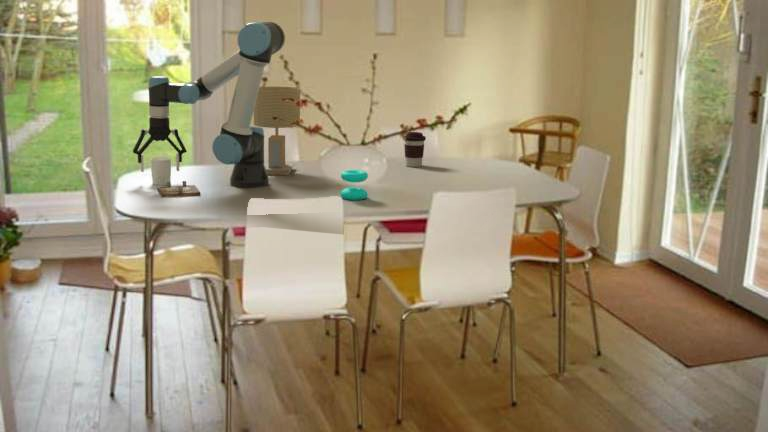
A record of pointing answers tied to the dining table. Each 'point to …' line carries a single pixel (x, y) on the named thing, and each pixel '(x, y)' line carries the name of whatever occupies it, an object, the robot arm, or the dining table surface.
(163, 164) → the white cup
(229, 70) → the robot arm
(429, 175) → the dining table surface
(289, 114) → the desk lamp
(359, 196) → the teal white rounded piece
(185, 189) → the pin board
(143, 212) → the dining table surface
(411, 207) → the dining table surface
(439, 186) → the dining table surface
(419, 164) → the coffee cup
